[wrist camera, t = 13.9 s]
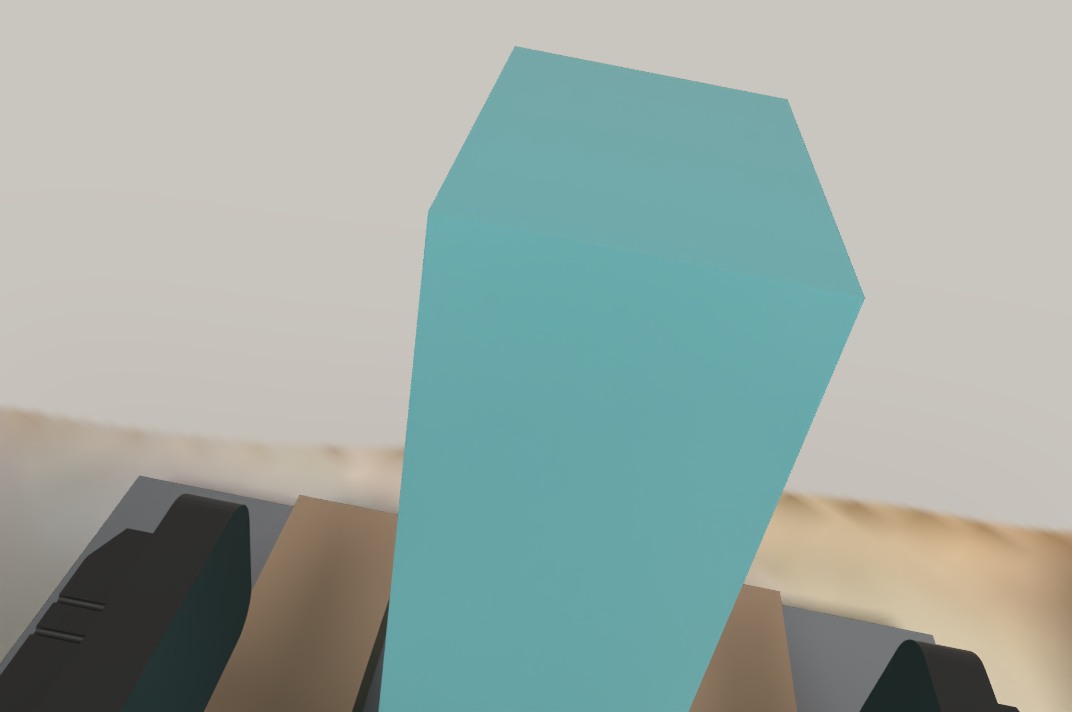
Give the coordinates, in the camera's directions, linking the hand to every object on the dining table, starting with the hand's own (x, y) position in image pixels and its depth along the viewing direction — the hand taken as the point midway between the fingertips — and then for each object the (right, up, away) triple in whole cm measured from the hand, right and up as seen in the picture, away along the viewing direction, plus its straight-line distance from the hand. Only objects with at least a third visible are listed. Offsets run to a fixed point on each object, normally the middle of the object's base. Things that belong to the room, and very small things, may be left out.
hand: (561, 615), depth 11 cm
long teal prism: (-1, -6, +8) cm, 10 cm away
